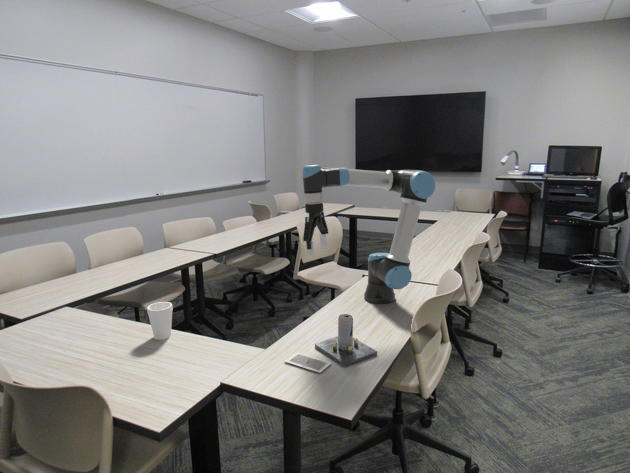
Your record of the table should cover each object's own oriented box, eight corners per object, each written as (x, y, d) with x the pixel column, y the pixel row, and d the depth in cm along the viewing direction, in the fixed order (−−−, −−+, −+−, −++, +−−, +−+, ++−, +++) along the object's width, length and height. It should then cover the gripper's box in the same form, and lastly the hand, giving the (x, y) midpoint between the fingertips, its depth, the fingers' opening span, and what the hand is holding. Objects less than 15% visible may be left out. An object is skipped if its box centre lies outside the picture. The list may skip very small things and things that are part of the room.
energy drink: (354, 345, 155) (354, 315, 153) (350, 351, 150) (350, 320, 148) (340, 342, 157) (340, 313, 155) (336, 349, 152) (336, 318, 150)
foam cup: (179, 333, 170) (177, 303, 167) (163, 343, 162) (159, 312, 159) (162, 329, 174) (159, 300, 171) (145, 339, 166) (141, 308, 163)
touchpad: (296, 354, 153) (296, 349, 152) (332, 365, 145) (332, 359, 145) (284, 364, 146) (283, 358, 146) (320, 375, 139) (320, 369, 138)
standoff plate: (346, 337, 165) (346, 327, 164) (377, 355, 151) (377, 344, 150) (314, 347, 157) (314, 337, 156) (344, 367, 143) (344, 356, 142)
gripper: (317, 199, 185) (321, 245, 189) (291, 207, 163) (296, 259, 167) (333, 198, 182) (336, 246, 186) (309, 207, 160) (313, 260, 164)
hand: (317, 252), depth 176 cm, fingers open, 13 cm apart
